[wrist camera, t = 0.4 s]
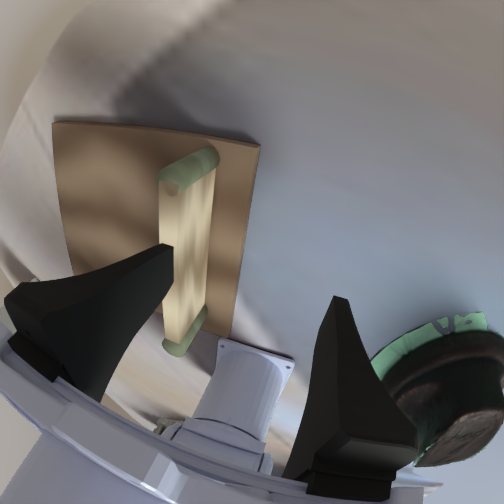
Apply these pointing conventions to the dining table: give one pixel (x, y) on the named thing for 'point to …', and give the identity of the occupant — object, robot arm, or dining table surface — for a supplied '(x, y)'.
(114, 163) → the board
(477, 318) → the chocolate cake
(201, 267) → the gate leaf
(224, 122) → the dining table surface
